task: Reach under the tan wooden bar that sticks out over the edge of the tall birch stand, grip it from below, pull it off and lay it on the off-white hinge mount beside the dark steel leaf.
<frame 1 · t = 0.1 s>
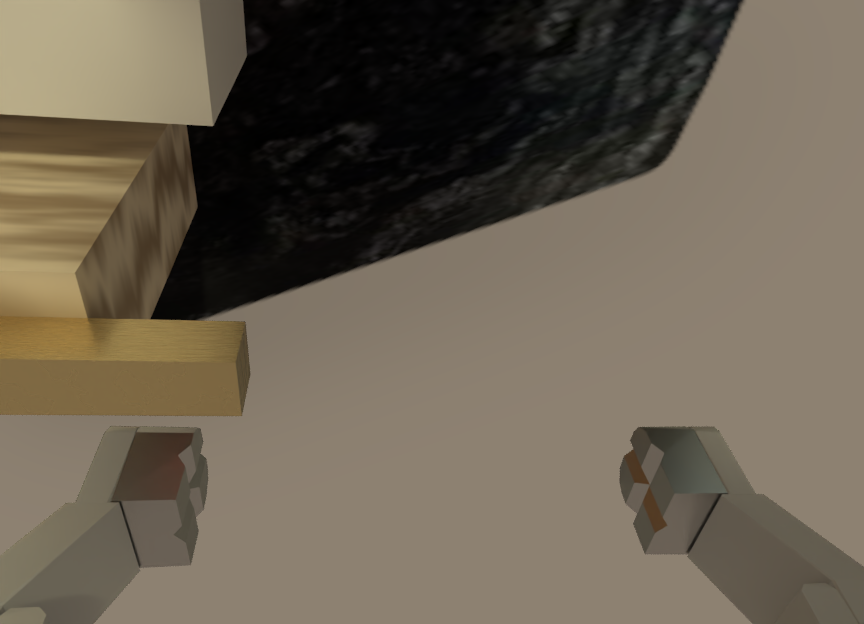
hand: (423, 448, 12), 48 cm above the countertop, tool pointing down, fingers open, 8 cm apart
tan wooden bar: (48, 345, 37), point 26 cm above the countertop, touching birch stand
birch stand: (107, 152, 58), on the countertop
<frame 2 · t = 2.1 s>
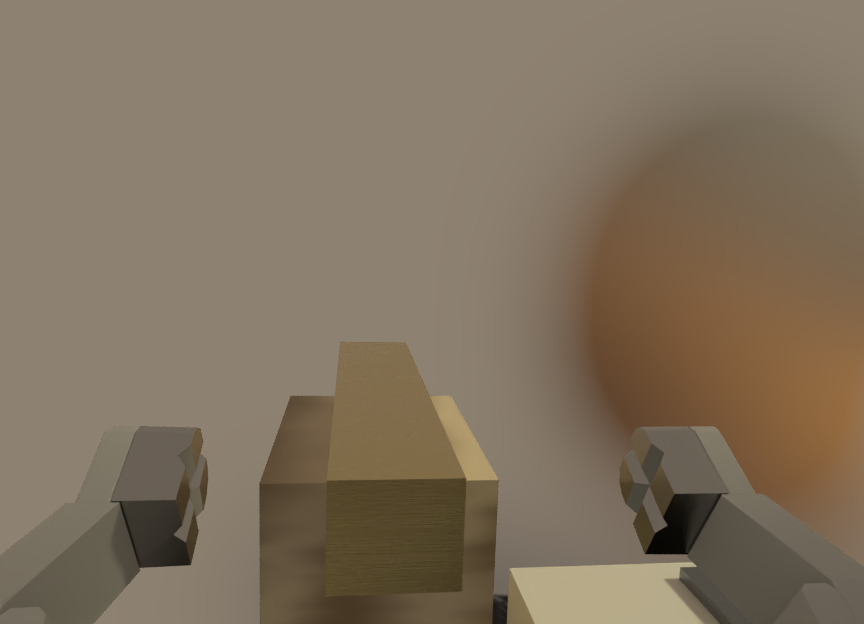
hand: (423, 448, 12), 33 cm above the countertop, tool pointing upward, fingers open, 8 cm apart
tan wooden bar: (379, 460, 30), point 26 cm above the countertop, touching birch stand
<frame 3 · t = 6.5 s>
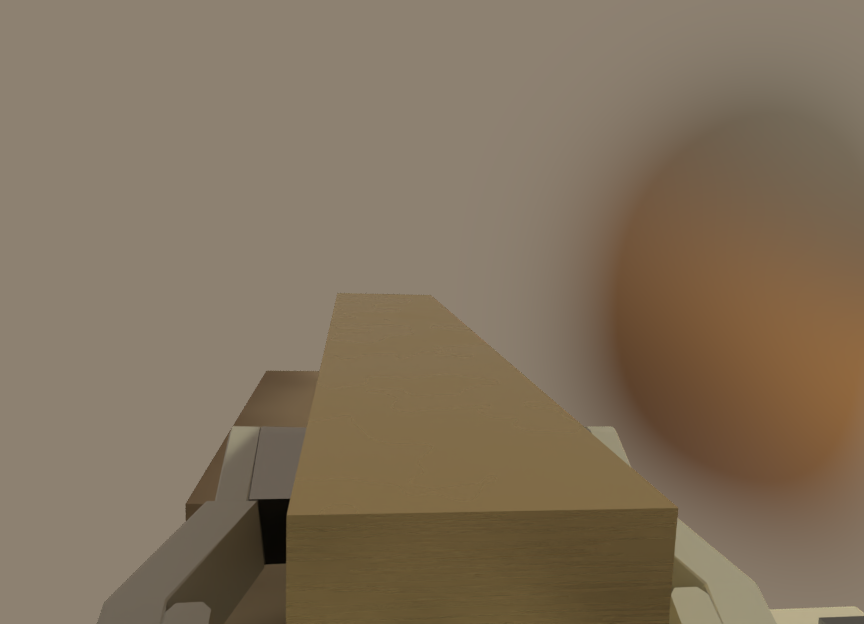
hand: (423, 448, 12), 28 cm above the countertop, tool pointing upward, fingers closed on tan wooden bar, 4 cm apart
tan wooden bar: (400, 462, 18), point 26 cm above the countertop, touching birch stand, gripper
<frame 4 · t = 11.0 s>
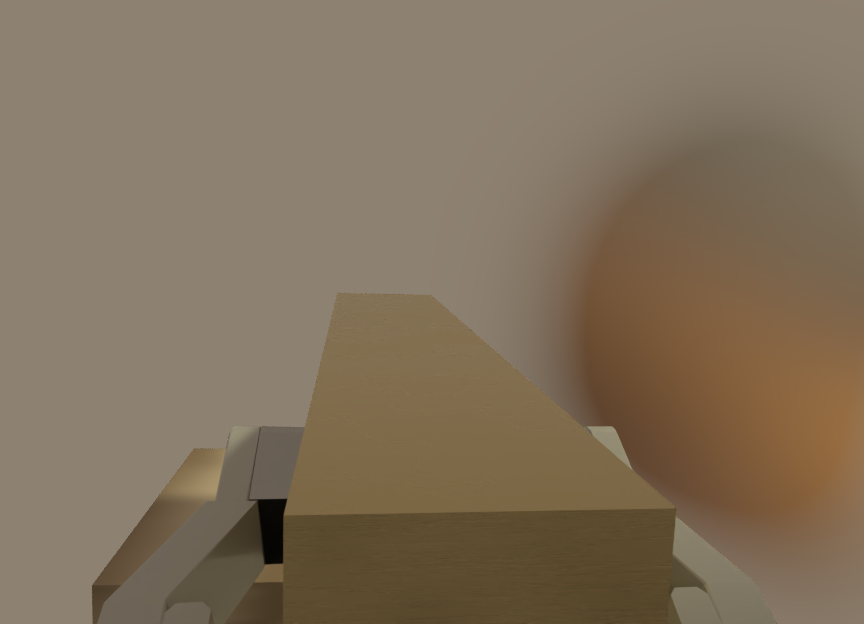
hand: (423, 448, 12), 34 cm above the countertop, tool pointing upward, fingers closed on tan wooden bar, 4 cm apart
tan wooden bar: (400, 463, 18), point 32 cm above the countertop, touching gripper
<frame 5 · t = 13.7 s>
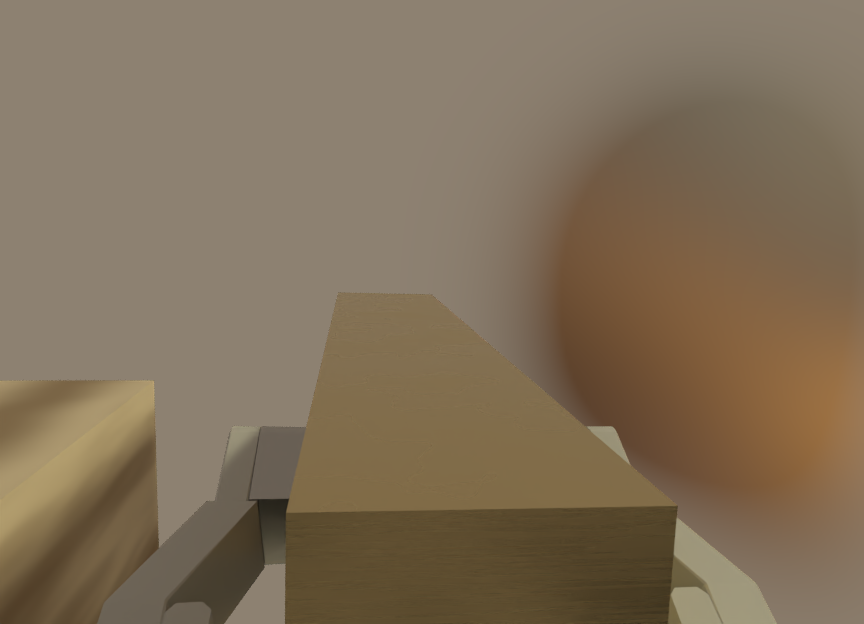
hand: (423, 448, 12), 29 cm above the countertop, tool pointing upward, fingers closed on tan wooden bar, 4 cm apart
tan wooden bar: (401, 462, 18), point 27 cm above the countertop, touching gripper
when the fingers open (20 cm above the countertop, at t = 16.0 s): tan wooden bar drops 3 cm, resting on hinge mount.
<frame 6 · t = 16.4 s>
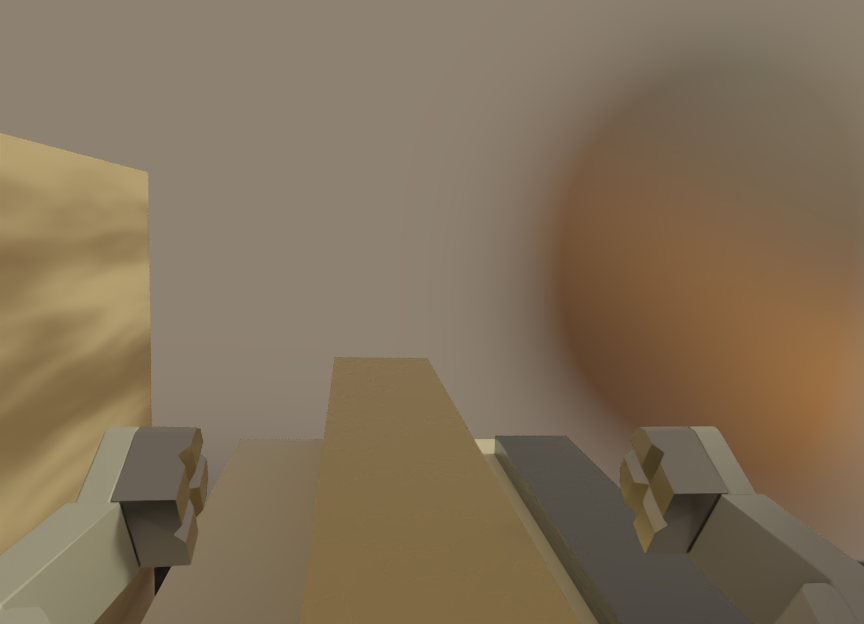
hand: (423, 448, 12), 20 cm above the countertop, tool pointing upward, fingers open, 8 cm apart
tan wooden bar: (395, 560, 18), point 15 cm above the countertop, touching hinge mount
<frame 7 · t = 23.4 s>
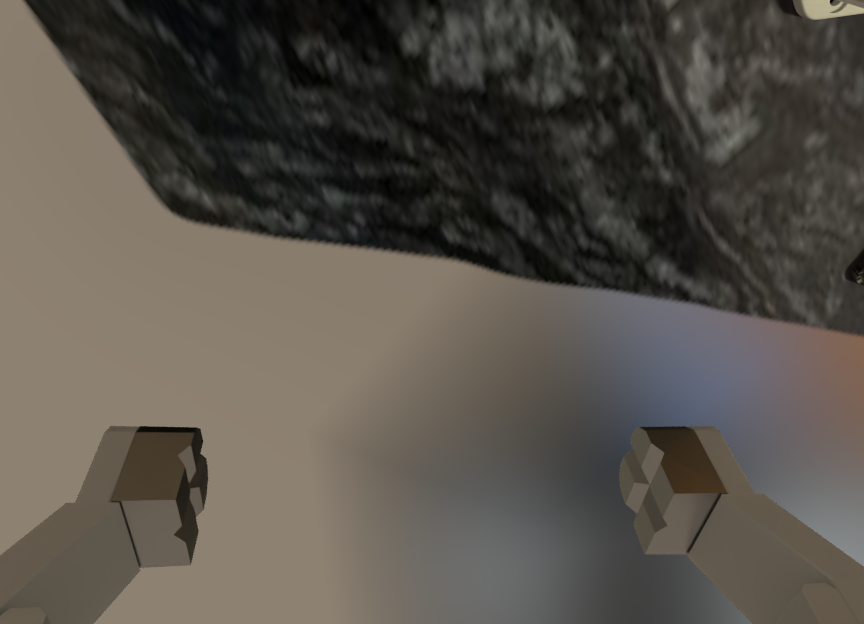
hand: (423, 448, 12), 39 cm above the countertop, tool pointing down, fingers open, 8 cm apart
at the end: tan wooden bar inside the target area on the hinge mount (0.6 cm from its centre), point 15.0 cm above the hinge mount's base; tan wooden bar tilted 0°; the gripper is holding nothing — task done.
